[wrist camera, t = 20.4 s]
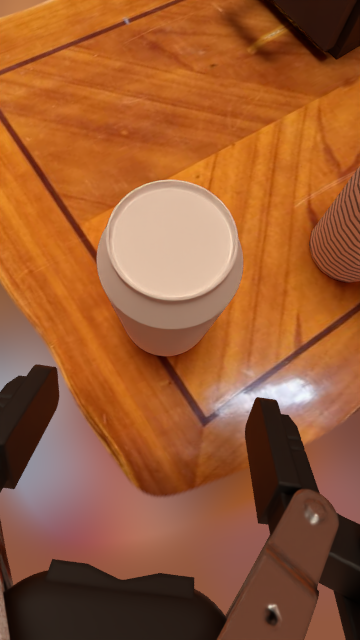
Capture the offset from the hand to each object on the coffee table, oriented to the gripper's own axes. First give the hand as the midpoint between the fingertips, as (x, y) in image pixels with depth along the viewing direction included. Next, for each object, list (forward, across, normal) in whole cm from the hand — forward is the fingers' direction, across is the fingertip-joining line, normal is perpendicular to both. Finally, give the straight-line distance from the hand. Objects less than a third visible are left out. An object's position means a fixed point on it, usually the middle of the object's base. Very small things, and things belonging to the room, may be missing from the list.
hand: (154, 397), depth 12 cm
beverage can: (+11, 0, +3) cm, 11 cm away
